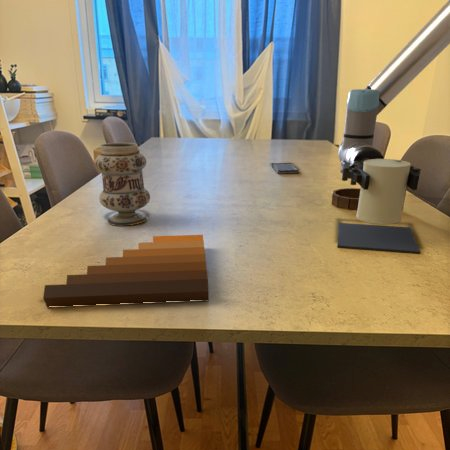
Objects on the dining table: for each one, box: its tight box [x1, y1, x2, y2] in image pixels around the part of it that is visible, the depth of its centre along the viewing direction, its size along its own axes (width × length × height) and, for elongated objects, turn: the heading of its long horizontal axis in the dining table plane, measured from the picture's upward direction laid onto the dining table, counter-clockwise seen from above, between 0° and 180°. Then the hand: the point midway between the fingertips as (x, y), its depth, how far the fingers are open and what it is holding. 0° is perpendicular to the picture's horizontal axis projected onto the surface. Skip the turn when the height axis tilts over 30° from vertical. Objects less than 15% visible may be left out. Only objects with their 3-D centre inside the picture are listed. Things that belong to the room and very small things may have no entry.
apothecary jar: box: [94, 142, 151, 226], centre depth 103 cm, size 12×12×18 cm
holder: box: [331, 186, 409, 212], centre depth 117 cm, size 19×13×8 cm
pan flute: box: [42, 234, 210, 308], centre depth 77 cm, size 25×3×25 cm
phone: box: [271, 162, 299, 175], centre depth 163 cm, size 8×1×15 cm
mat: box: [336, 222, 421, 255], centre depth 94 cm, size 16×16×1 cm
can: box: [355, 158, 412, 226], centre depth 90 cm, size 9×9×12 cm
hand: (391, 182), depth 84 cm, fingers closed on can, 9 cm apart
